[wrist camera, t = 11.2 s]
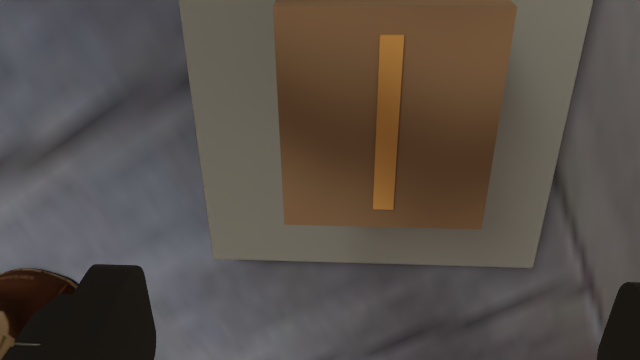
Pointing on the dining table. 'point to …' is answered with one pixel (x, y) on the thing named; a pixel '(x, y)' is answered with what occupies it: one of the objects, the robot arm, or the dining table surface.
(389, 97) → the cardboard box
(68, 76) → the dining table surface
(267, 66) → the base plate
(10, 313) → the coffee cup
